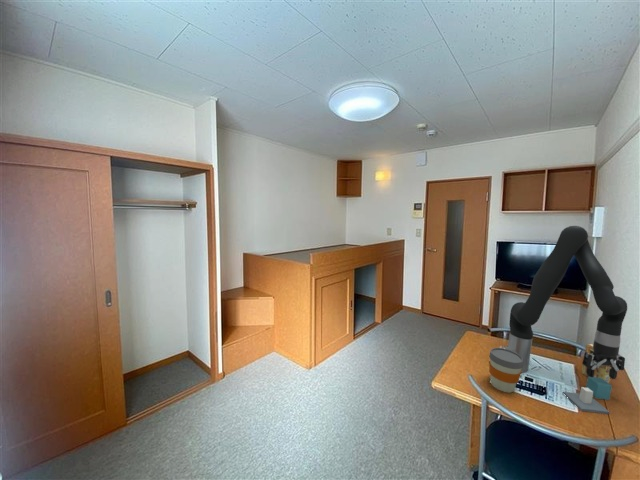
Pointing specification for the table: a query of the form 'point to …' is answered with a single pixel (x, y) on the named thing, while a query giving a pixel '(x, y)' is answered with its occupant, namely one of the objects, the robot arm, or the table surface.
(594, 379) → the teal block
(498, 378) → the reusable coffee cup
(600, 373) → the candy box
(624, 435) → the table surface
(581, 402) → the gray base with block
